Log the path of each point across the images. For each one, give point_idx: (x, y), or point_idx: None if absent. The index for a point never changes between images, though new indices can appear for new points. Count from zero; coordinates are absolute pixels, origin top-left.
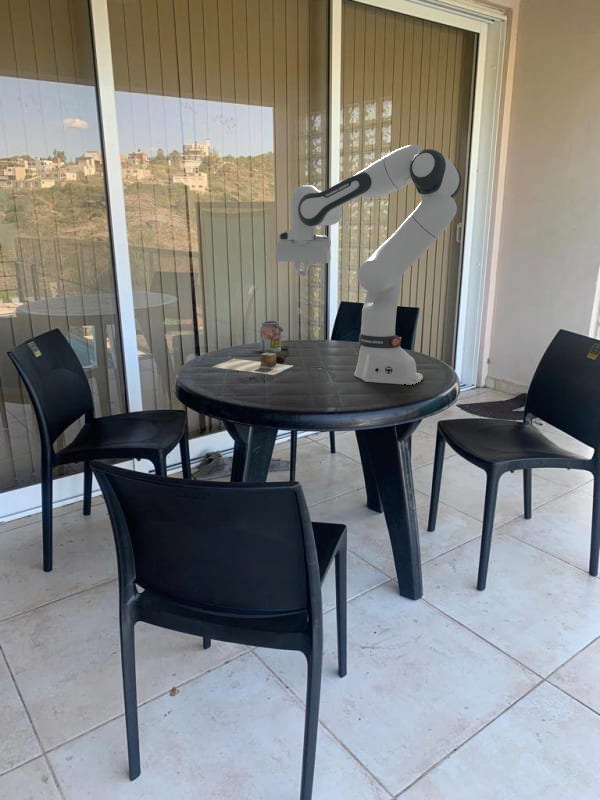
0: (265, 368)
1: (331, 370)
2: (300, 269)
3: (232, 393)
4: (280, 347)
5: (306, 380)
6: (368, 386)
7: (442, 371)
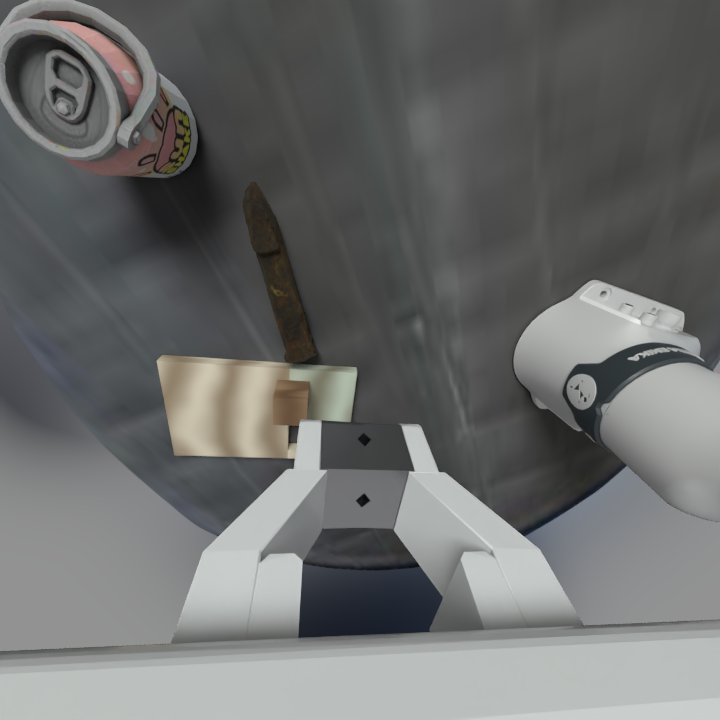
0: None
1: (452, 334)
2: (320, 503)
3: None
4: (190, 118)
5: None
6: (539, 429)
7: None
